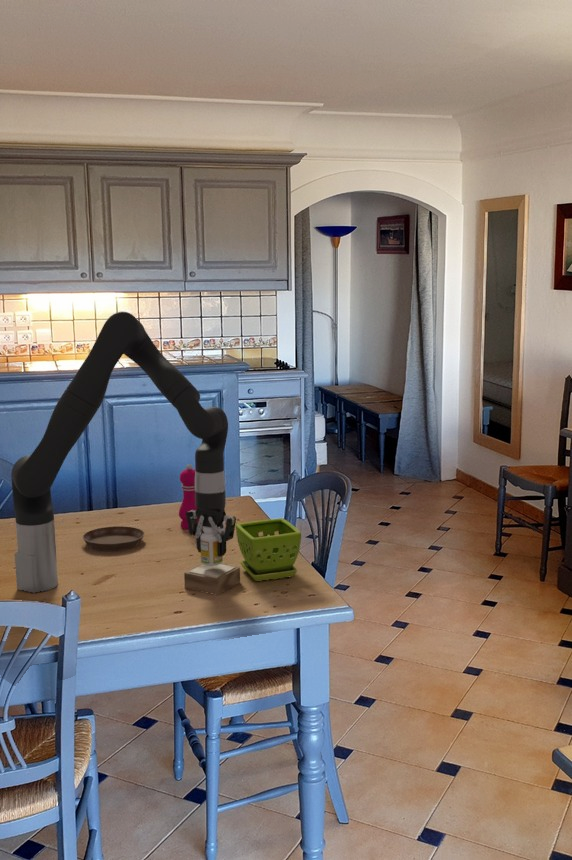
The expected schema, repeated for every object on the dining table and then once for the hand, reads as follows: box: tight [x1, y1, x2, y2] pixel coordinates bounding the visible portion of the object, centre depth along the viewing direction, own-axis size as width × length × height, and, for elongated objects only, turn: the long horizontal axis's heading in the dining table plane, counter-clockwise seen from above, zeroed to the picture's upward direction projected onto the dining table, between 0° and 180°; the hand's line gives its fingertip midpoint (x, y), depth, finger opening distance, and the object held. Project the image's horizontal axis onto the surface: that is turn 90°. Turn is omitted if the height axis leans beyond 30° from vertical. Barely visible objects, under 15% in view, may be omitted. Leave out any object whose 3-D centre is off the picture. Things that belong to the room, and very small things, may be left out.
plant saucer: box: [82, 525, 145, 552], centre depth 252 cm, size 18×18×3 cm
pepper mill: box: [178, 463, 199, 531], centre depth 266 cm, size 7×7×20 cm
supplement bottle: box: [200, 526, 223, 566], centre depth 216 cm, size 5×5×10 cm
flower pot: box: [235, 518, 302, 582], centre depth 224 cm, size 14×14×13 cm
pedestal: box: [183, 563, 241, 595], centre depth 217 cm, size 10×10×4 cm
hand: (211, 553), depth 216 cm, fingers closed on supplement bottle, 5 cm apart
